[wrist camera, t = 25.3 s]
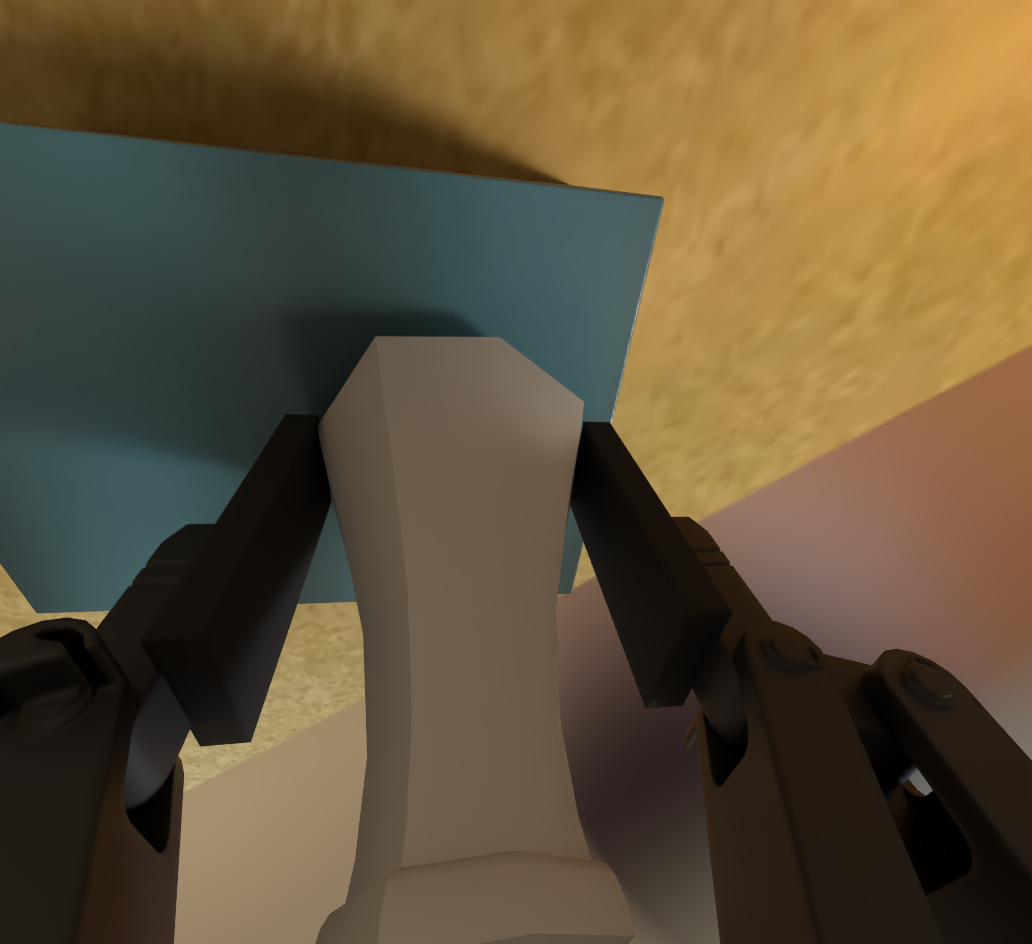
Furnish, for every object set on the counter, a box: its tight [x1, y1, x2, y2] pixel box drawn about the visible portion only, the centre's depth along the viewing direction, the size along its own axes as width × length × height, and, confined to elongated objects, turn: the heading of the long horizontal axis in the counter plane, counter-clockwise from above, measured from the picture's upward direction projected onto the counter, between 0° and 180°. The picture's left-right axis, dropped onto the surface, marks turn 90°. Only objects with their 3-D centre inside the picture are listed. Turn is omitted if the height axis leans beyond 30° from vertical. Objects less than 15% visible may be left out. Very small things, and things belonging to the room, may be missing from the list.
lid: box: [0, 122, 664, 613], centre depth 13 cm, size 18×13×1 cm
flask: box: [316, 336, 634, 944], centre depth 9 cm, size 7×7×10 cm
